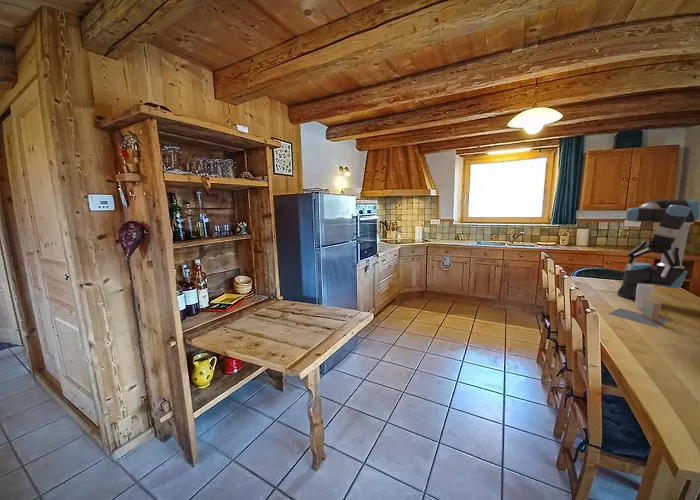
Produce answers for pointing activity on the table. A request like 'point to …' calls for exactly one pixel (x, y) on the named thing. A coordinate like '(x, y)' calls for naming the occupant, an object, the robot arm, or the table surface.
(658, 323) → the mat
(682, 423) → the table surface
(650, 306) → the tile
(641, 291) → the white rectangular block
